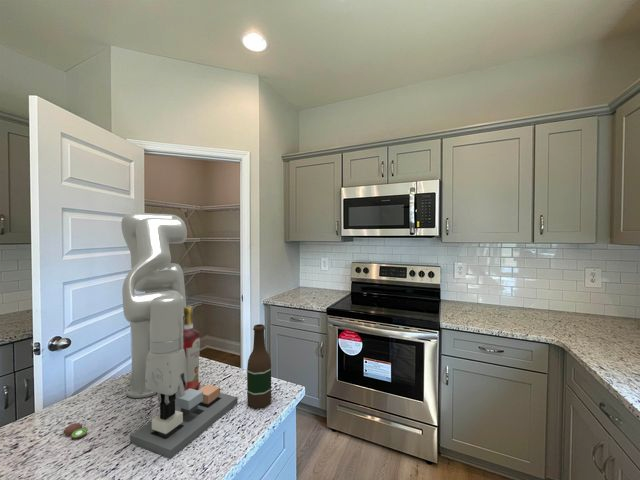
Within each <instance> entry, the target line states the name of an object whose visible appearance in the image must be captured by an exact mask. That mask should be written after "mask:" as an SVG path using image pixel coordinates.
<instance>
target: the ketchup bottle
mask: <svg viewBox="0 0 640 480" xmlns="http://www.w3.org/2000/svg"><path fill="white" fill-rule="evenodd" d="M193 308H194V307H193V306H190V305H189V306H186V307H184V316H183V317H184V318H183V349H184V351H185V356H186V363H187V386H186V387H185V388H184V391H186V390H188V389H189V388H190V389H194V390H199V389H200V386H201V384H200V382H199V373H200V371H199V370H200V369H199V368H200V347H201V332H200V331H199V330H198V329H197V330H196V329H194V324H193V313H194V312H193V311H194V309H193Z"/></svg>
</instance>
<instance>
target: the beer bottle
mask: <svg viewBox="0 0 640 480" xmlns="http://www.w3.org/2000/svg"><path fill="white" fill-rule="evenodd" d="M252 330H253V348H252V352H251V353H250V355H249V357H248V360H247V367H246V368H247V369H246V372H247V373H246V376H247V378H246V387H247V388H246V391H247V397H246V400H247V407H249V408H251V409H253V410H260V409H261V410H262V409H265V408H267V407H268V406H269V405H271V403H272V361H271V357H270V354H269V352H268V351H267V349H266V343H265V341H266V340H265V330H266V327H265V324H261V323H259V324H258V323H257V324H255V325H254V326H253V328H252Z"/></svg>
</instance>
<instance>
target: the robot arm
mask: <svg viewBox="0 0 640 480" xmlns="http://www.w3.org/2000/svg"><path fill="white" fill-rule="evenodd" d="M120 223H121V233H122V236H123V239H124V241H125V243H126V245H127V248H128V251H129V254H130V264H131V265H130V267H131V269H130V271H129V272H128V273H127V275H126V277H125V278H124V280H123V284H122V294H121V295H122V309H123V316H124V319H125V320H126V321H127V322H129V324H130V325H129V326H130V333H131V335H130V337H131V338H130V339H131V341H130V342H131V373H130V374H129V375H127V376H126V379H127V380H129V381H130V385H129V386H128V387H127V388H126V390H125V394H126V396H127V397H129V398H131V399H141V398H142V399H143V398H148V397H151V396H154V395H156V396H157V401H158V403H159V414H160V419H163V420H166V419H168V418H169V417H171V416H172V415H174V414H175V399H177V398H181V397H182V396H184V395H185V391H184V388H185V387H186V386H187V363H186V356H185V351H184V349H183V331H184V317H185V316H184V307H187V299H186V298H187V297H186V287H185V275H184V271H183V268H182V267H181V265H180V264H178V263H173V262H171V261H172V255H171V250H170V245H171V244H174V245H175V244H183V243H184V242H186V240H187V237H188V236H187V235H188V229H187V226H186V224H185V223H186V222H185V221H184V220H183V219H182V218H181V217H179V216H178V215H176V214H170V213H169V214H168V213H151V212H149V213H148V212H147V213H146V212H134V213H127V214H125V215H124V216H123V217H122V219H121V222H120ZM136 292H139V293H136ZM140 292H141V293H140ZM142 292H143V293H142Z"/></svg>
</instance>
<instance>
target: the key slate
mask: <svg viewBox="0 0 640 480" xmlns="http://www.w3.org/2000/svg"><path fill="white" fill-rule="evenodd" d="M198 390H199V389H197V390H194V389H190V388H189V389H188V390H186V391H185V395H184V396H182V397H181V398H177V399H175V406H176V407H180V408H181V412H183V413H185V414H188V415H189V414H191V413H192V412H194V411H195V410H196V409H198V404H199V403H200V402H202V401H203V392H202V391H198Z"/></svg>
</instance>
